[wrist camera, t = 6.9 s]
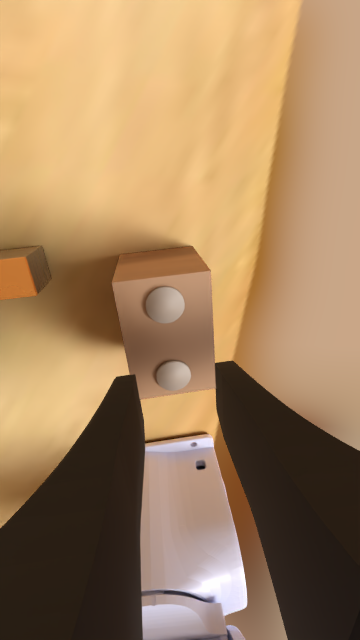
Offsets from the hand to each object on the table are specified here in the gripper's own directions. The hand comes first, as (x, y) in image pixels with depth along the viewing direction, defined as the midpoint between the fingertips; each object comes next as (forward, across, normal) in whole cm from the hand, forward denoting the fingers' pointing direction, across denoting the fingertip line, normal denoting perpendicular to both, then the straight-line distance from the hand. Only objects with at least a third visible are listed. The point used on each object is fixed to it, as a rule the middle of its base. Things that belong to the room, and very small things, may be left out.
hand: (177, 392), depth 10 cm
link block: (+8, 0, 0) cm, 8 cm away
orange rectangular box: (+8, +7, -3) cm, 11 cm away
